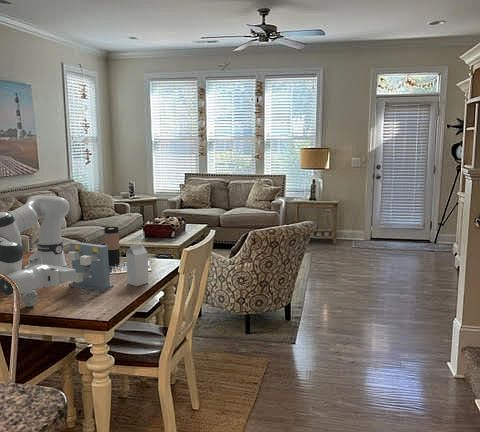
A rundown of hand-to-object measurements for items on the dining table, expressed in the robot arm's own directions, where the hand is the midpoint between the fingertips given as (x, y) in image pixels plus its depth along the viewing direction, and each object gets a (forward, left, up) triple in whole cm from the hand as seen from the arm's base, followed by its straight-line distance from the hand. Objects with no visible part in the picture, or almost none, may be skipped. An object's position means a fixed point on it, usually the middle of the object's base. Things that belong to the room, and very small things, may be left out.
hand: (67, 267), depth 199 cm
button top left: (-12, +18, -1) cm, 22 cm away
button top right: (-1, +15, -1) cm, 15 cm away
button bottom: (-6, +15, -10) cm, 19 cm away
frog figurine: (-9, -12, -15) cm, 21 cm away
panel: (-6, +19, -15) cm, 25 cm away
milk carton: (+11, +32, -15) cm, 37 cm away
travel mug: (-24, +54, -15) cm, 61 cm away
